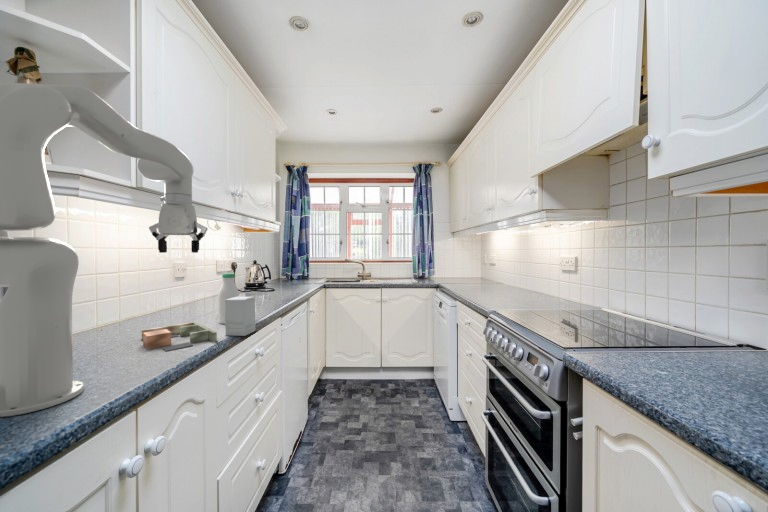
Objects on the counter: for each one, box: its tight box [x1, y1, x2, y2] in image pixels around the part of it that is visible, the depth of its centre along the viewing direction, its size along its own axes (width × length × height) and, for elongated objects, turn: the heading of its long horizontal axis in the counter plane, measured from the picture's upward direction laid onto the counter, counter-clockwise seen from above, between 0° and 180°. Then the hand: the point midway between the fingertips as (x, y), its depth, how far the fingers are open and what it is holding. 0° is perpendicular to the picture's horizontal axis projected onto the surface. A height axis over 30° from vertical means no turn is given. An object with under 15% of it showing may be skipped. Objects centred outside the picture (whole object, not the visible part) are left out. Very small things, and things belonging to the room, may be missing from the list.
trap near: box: [161, 341, 194, 353], centre depth 91 cm, size 7×4×1 cm, turn 138°
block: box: [142, 329, 172, 350], centre depth 94 cm, size 6×6×4 cm
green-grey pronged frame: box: [141, 321, 218, 344], centre depth 98 cm, size 16×22×3 cm
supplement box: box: [224, 296, 256, 337], centre depth 107 cm, size 7×7×13 cm
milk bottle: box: [217, 272, 240, 325], centre depth 124 cm, size 8×8×20 cm
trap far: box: [171, 333, 180, 339], centre depth 101 cm, size 7×4×1 cm, turn 138°
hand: (179, 252), depth 100 cm, fingers open, 9 cm apart
